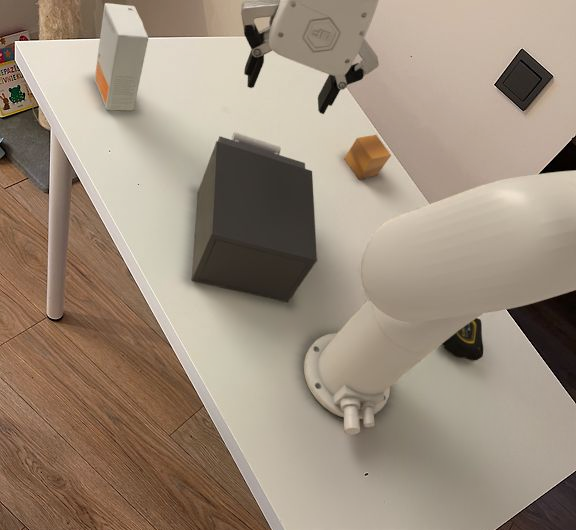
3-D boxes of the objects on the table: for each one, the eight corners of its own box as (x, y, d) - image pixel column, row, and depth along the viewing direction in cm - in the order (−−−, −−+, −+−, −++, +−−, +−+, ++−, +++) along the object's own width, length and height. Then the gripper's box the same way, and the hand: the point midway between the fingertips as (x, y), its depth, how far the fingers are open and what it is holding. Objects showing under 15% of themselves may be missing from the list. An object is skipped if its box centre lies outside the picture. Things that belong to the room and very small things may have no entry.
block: (377, 175, 103) (391, 155, 99) (358, 179, 100) (372, 159, 96) (362, 154, 104) (376, 134, 100) (344, 158, 101) (356, 137, 97)
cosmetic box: (92, 80, 86) (103, 1, 77) (121, 81, 89) (135, 4, 79) (105, 111, 85) (118, 34, 75) (134, 112, 87) (150, 37, 77)
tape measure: (472, 367, 91) (488, 355, 88) (434, 353, 89) (449, 340, 86) (470, 331, 94) (486, 318, 91) (434, 316, 92) (448, 303, 89)
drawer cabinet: (197, 192, 85) (216, 140, 77) (285, 217, 89) (312, 170, 82) (191, 280, 77) (211, 233, 70) (287, 302, 82) (317, 260, 74)
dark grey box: (205, 153, 87) (220, 110, 81) (283, 177, 92) (303, 138, 85) (198, 257, 78) (215, 218, 72) (285, 278, 83) (308, 243, 76)
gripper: (271, -60, 56) (218, 90, 70) (424, 10, 62) (348, 135, 77) (271, -101, 60) (221, 50, 74) (416, -31, 66) (345, 96, 80)
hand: (286, 93), depth 75 cm, fingers open, 9 cm apart
